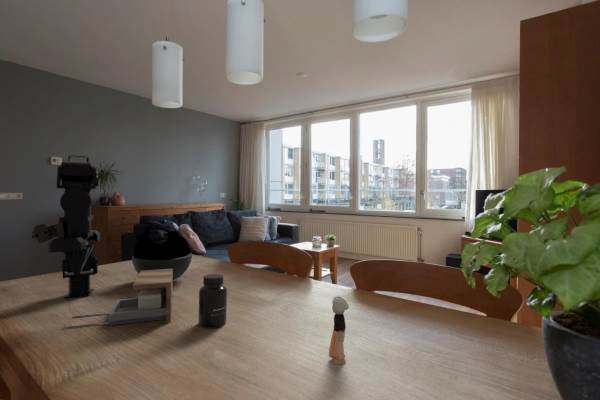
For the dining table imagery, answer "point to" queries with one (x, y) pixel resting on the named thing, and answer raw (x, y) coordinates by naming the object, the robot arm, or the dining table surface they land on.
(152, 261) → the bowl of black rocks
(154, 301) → the small box
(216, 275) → the supplement bottle
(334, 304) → the grandmother figurine
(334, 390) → the dining table surface
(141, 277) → the shelf
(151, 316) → the tray
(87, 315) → the rails
